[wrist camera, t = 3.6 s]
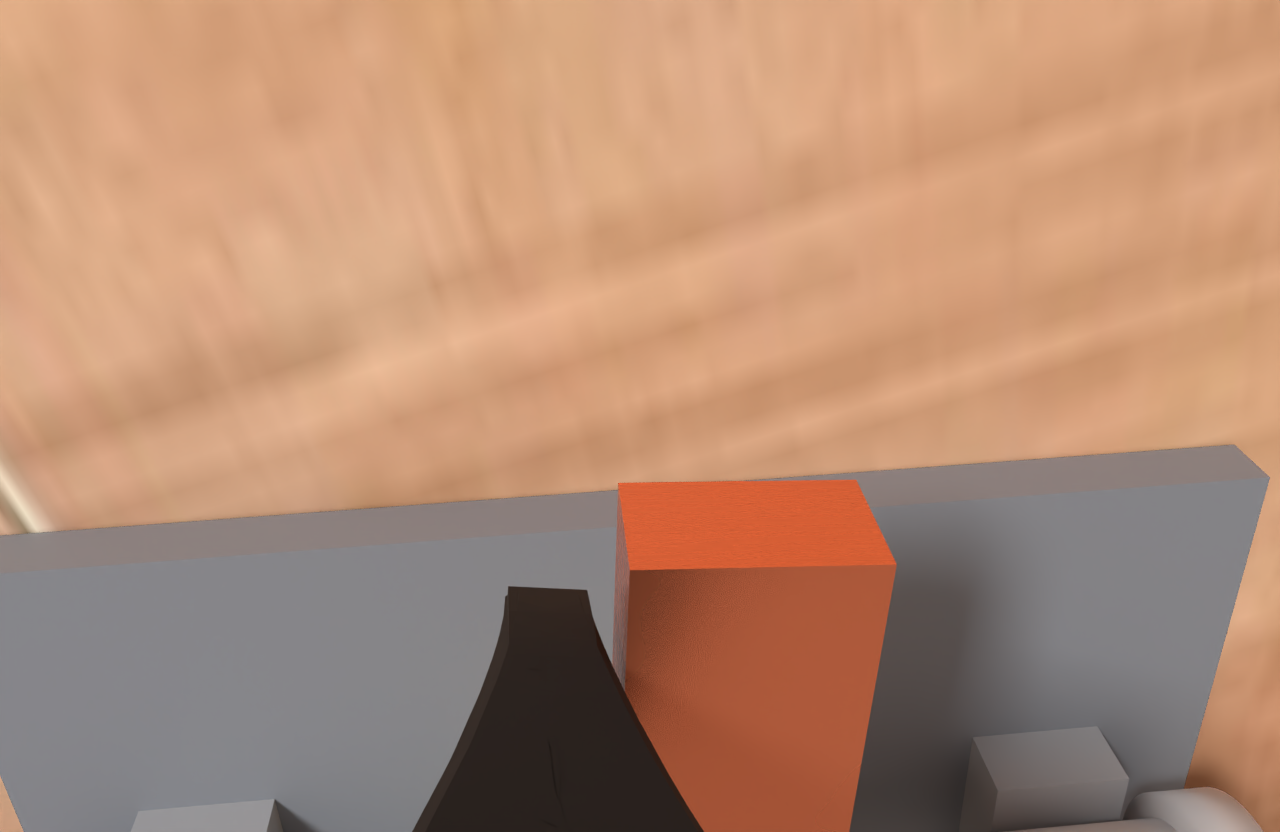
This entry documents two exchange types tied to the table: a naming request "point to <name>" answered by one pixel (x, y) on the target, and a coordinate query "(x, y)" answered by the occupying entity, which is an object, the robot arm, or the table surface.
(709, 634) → the valve lever
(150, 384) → the table surface
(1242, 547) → the valve board
